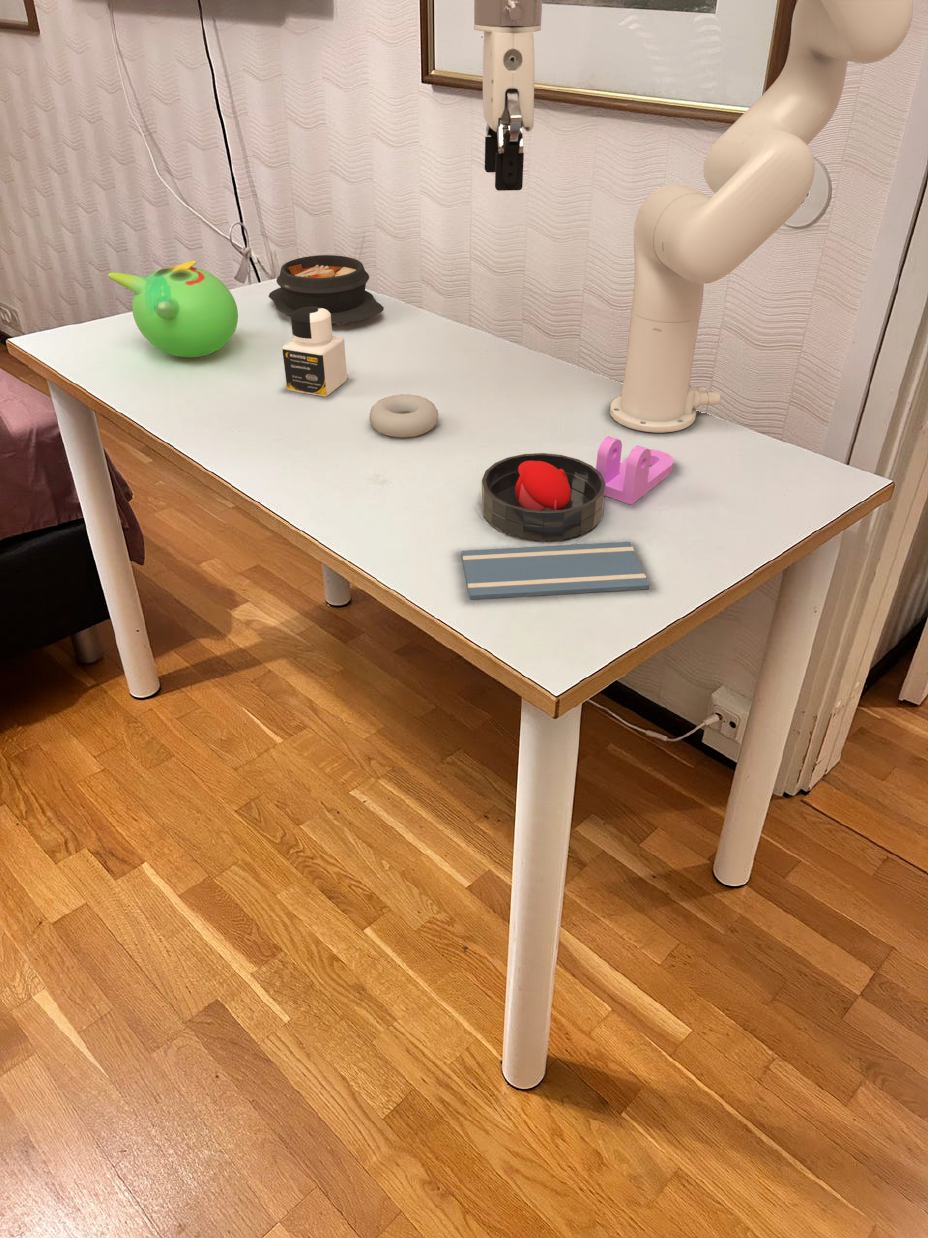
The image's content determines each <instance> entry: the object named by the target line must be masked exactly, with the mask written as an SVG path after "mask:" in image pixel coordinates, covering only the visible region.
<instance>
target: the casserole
mask: <svg viewBox="0 0 928 1238" xmlns="http://www.w3.org/2000/svg"><path fill="white" fill-rule="evenodd" d="M369 280H370V275H369V273H368V272H367V271H366V269H365V267H364V264H363V262H361V261H360V260H358V259H356V258H353V257H349V256H345V255H336V254H335V255H334V254H320V255H309V256H302V257H299V258H294V259H292V260H289V261H287V262H285V263H284V264H282V265H281V266H280V271H279V275H278V276H277V277H276V284H277V285H278V286H279V287H277V288H275V289H273V290H272V291H270V293H268V298H269V299H270V300H271V301H272V302H273V304H274V306H275V309H276V310H277V311H278V312H280V313H282V314H284V315H286V316H289V317H291V314H292V313H293V312H294V311H295V310H297V309H299V308H302V307H309V306H316V307H321V308H324V309H326V310H328V311H329V312H330V314H331V324H339V325H340V324H350V323H351V324H352V323H356V322H361V321H365V320H368V319H371V318H374V317H375V316H377V315H379V314H381V313H382V312H383V311H384V309H385V308H384V307H385V306H383V305H382V304H381V303H380V302H379V301H377V300H376V298H375V297H374V295H373V294H372V293H371V292H369V291H368V290H366V286H367V283H368V282H369Z"/></svg>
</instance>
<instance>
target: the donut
mask: <svg viewBox="0 0 928 1238" xmlns="http://www.w3.org/2000/svg"><path fill="white" fill-rule="evenodd" d="M369 411H370V412H369V416H368V417H369V421H370V424H371V425H372V427H373V429H375V430H376V431H378V432H379V433H380V434H383V435H386V436H389V437H393V438H412V437H417V436H421V435H424V434H426V433H428V432H430V431H431V430H432V429H433V428H435V426H436V425H437V422H438V418H439V411H438V409H437V407H436V405H435V403H433V401H432V400H429V399H428V398H426V397H423V396H420V395H416V394H409V393H408V394H407V393H405V394H402V393H401V394H394V395H393V394H392V395H390V396H386V397H383V398H381V399H379V400H378V401H377V402H375V403H374V404H373V405H372V407H371V408H370V410H369Z"/></svg>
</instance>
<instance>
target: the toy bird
mask: <svg viewBox="0 0 928 1238" xmlns="http://www.w3.org/2000/svg"><path fill="white" fill-rule="evenodd" d="M197 262H198V261H197V260H189V261H186V262H183V263H180V264H177V265H173V266H168V267H163V268H160V269H158V270H156V271H153V272H151V273H150V274H149V275H147V276H146V277H145V276H140V275H135V274H129V273H123V272H116V271H114V272H112V271H111V272H109V273H108V274H107V277H108V278H109V279H111V280H112V282H115V283H116V284H118V285H120V286H122V287H123V288H125V289H126V290H129V291H130V292H132V293H133V297H132V302H131V310H132V316H133V320H134V322H135V325H136V327H137V329H138V330H139V331H140V333H141V334H142V336H143V337H144V338H145V339H146V340H147V341H148V342H149V343H150V344H151V345H153V346H154V347H155V348H156V349H158V350H160V351H161V352H164V353H166V354H169V355H172V356H175V357H181V358H198V357H203V356H207V355H210V354H213V353H215V352H217V351H219V350H220V349H222V348H223V347H225V346H226V345H227V343H229V342H230V340H231V339H232V338H233V336H234V334H235V332H236V330H237V327H238V323H239V322H238V321H239V312H238V311H239V310H238V306H237V303H236V300H235V298H234V296H233V294H232V293H231V290H229V287H227V286H226V284H224V282H223V281H222V280H220V279H219V278H218V277H217V276H215V275H214V274H213V273H211V272H209V271H207V270H204V269H202V268H199V267H195V265H196V264H197Z"/></svg>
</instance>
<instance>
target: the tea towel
mask: <svg viewBox="0 0 928 1238" xmlns="http://www.w3.org/2000/svg"><path fill="white" fill-rule="evenodd" d="M461 560H462V565H463V566H462V567H463V571H464V577H465V582H466V587H467V592H468V593H467V594H468V599H469V600H470V601H471V600H487V599H502V598H505V599H506V598H520V597H537V596H553V595H554V596H556V595H573V594H574V595H575V594H585V593H586V594H587V593H588V594H589V593H605V592H622V591H623V592H624V591H640V590H641V591H642V590H649V589H650V584H649V582H648V580H647V575H646V574H645V573H644V570H643V568H642V566H641V563H640V562H639V559H638V557H637V554H636V553H635V549H634V546H633V545H632V543H631V542H630V541H619V542H618V541H617V542H616V541H615V542H600V543H599V542H598V543H597V542H596V543H582V544H581V543H580V544H561V545H545V546H544V545H543V546H525V547H523V546H522V547H507V548H505V547H504V548H489V549H487V548H485V549H471V550H461Z"/></svg>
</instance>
